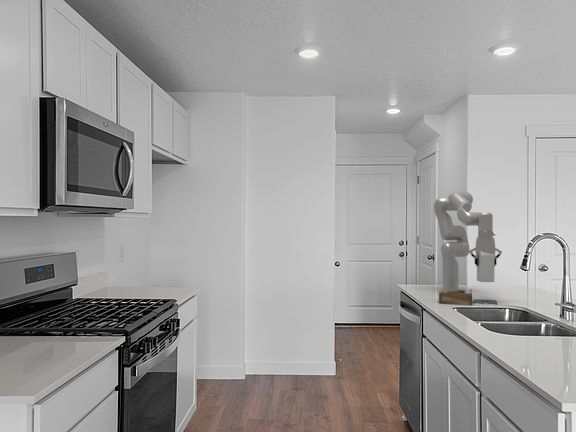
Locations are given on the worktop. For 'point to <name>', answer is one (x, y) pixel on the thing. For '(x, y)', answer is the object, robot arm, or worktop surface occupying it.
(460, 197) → the robot arm
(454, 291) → the offcut upper
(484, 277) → the milk carton
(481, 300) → the mat
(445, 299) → the rack
